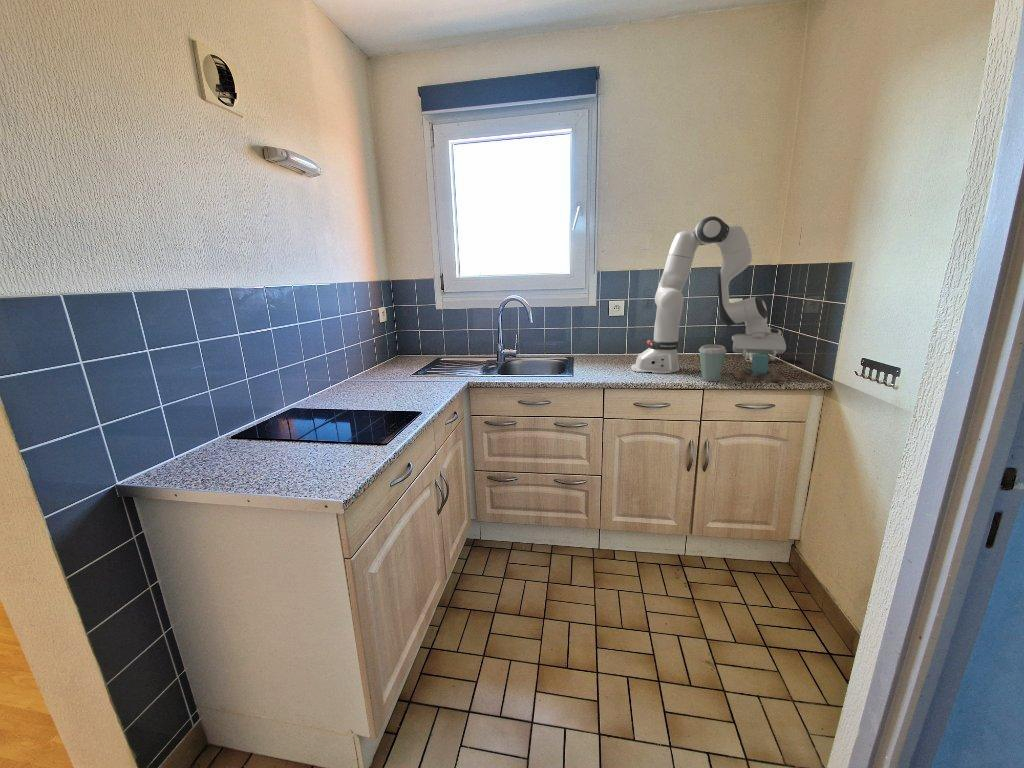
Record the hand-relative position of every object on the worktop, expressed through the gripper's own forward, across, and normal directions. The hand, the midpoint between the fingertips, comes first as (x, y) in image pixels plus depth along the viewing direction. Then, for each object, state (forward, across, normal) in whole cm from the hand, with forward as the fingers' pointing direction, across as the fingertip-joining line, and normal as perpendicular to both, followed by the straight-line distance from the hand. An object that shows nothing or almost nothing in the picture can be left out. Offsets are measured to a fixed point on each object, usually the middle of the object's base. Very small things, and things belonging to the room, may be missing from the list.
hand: (759, 360), depth 177 cm
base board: (+6, 0, +5) cm, 8 cm away
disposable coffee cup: (+11, -20, +1) cm, 23 cm away
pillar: (+5, 0, +4) cm, 7 cm away
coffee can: (-20, +8, +32) cm, 39 cm away
